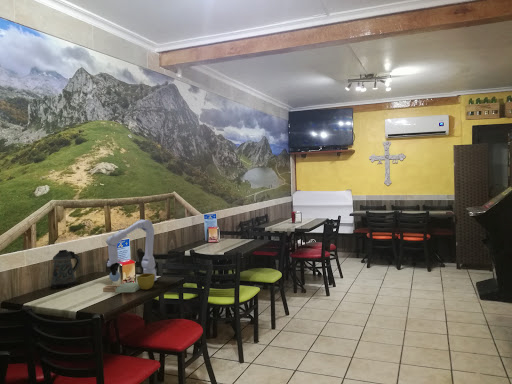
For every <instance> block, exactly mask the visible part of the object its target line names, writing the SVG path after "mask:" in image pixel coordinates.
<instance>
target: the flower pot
mask: <svg viewBox="0 0 512 384" xmlns="http://www.w3.org/2000/svg"><path fill="white" fill-rule="evenodd" d="M154 279H155V274H150V273H144V272H143V273H142V274H138V275H137V276H136V281H137V282H136V283H138V285H139V287H140V290H149V289H152V287H153V286H154V284H155V281H154Z"/></svg>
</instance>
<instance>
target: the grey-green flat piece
mask: <svg viewBox="0 0 512 384" xmlns="http://www.w3.org/2000/svg"><path fill="white" fill-rule="evenodd" d="M119 285H120V286H119V287H117V289H116V293H117V294H118V293H120V294H121V293H136V292H137V291H138V290H141V288H140V287H139V285H138V282H123V283H122V284H119Z"/></svg>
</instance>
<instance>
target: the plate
mask: <svg viewBox="0 0 512 384" xmlns="http://www.w3.org/2000/svg"><path fill="white" fill-rule="evenodd" d="M120 278H121V274H120V272H119V271H116V275H112V272H111V271H110V273H109V279H110V280H111V281H112V282H114V283H115V282H118V281H120Z"/></svg>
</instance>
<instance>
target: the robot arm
mask: <svg viewBox="0 0 512 384" xmlns="http://www.w3.org/2000/svg"><path fill="white" fill-rule="evenodd" d="M137 229H140V230H143V231H144V232H145V234H146V235H145V246H144V247H145V249H144V256H143V257H142V260H141V263H140V264H141V266H140V267H142V269H143V274H144V273H150V274H155V279H154V282H155V281H157V280H158V278H157V271H156V262H155V257H154V253H153V252H154V241H155V240H154V239H155V228H154V226H153V222H152V221H151V220H149V219H138V220H136V221H135V222H134V223H133V224H131V225H129V226H128V227H127V228H125V229H119V230H118V231H117V232H116V233H113V234H112V235H111V236H110V235H109V236H107V238H106V240H105V243H106V245H107V251H108V252H107V253H108V261H107V263H106V267H108V268H109V269H110V273H111V272H112V275H116V271H117V272H119V271H118V270H119V266H120V265H121V263H120V262H121V258H119V252H118V244H119V242H120V241H122V240H123V239H125V238H127V237H128V234H130V233H132V232H134V231H135V230H137Z"/></svg>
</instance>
